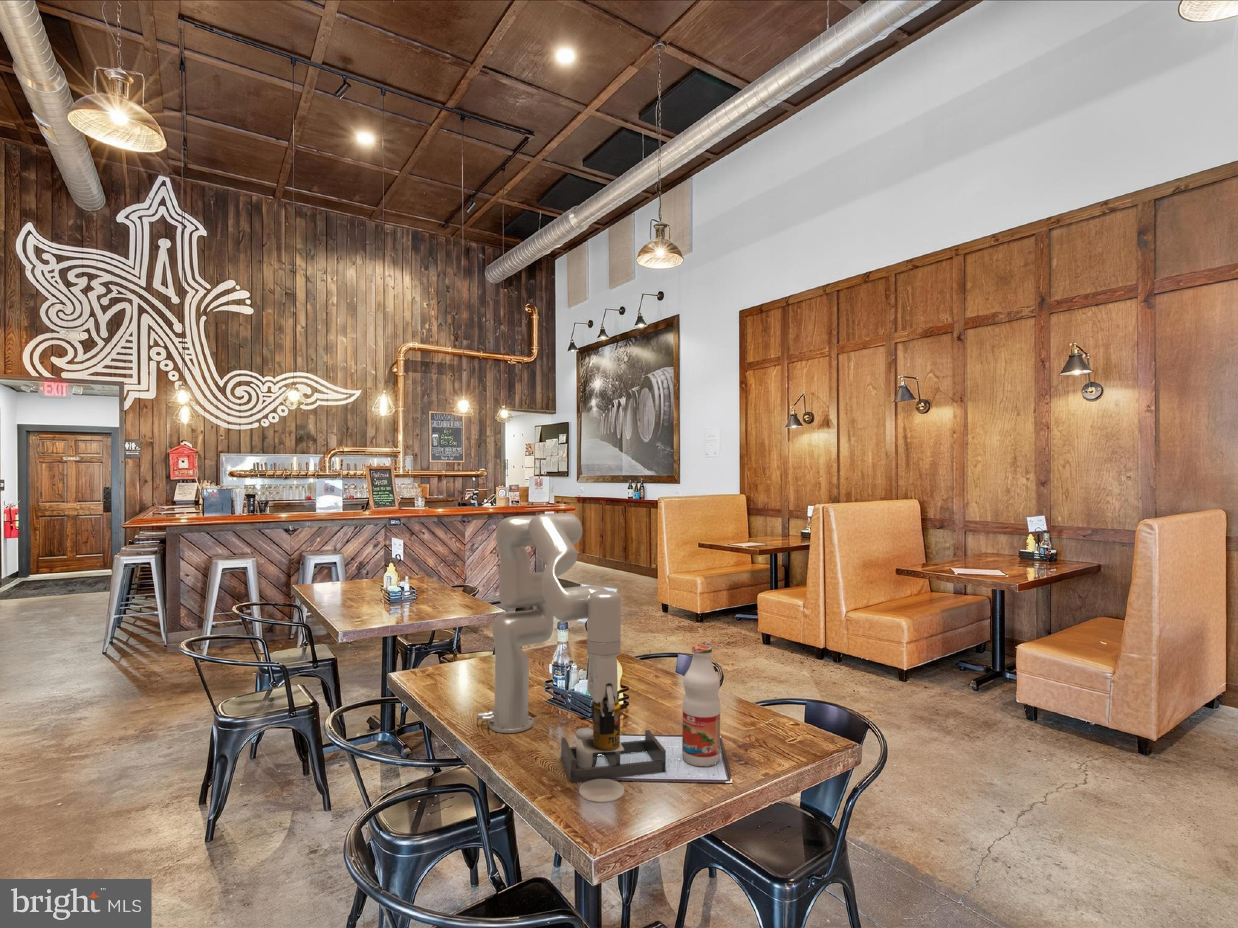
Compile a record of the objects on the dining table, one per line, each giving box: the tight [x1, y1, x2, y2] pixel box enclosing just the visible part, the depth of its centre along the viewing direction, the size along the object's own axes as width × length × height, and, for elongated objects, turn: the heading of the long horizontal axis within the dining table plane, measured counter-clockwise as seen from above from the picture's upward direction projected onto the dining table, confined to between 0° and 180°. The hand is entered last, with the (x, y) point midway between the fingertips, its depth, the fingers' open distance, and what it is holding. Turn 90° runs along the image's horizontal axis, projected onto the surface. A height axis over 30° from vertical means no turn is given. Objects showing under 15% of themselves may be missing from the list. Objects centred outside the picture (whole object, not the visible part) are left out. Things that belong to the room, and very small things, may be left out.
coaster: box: [579, 778, 625, 803], centre depth 140 cm, size 10×10×1 cm
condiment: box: [581, 691, 624, 753], centre depth 141 cm, size 7×8×12 cm
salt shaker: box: [575, 727, 594, 769], centre depth 153 cm, size 4×4×8 cm
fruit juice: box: [681, 644, 721, 767], centre depth 157 cm, size 9×9×28 cm
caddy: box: [560, 729, 667, 784], centre depth 153 cm, size 23×13×5 cm, turn 105°
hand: (602, 727), depth 140 cm, fingers closed on condiment, 6 cm apart
